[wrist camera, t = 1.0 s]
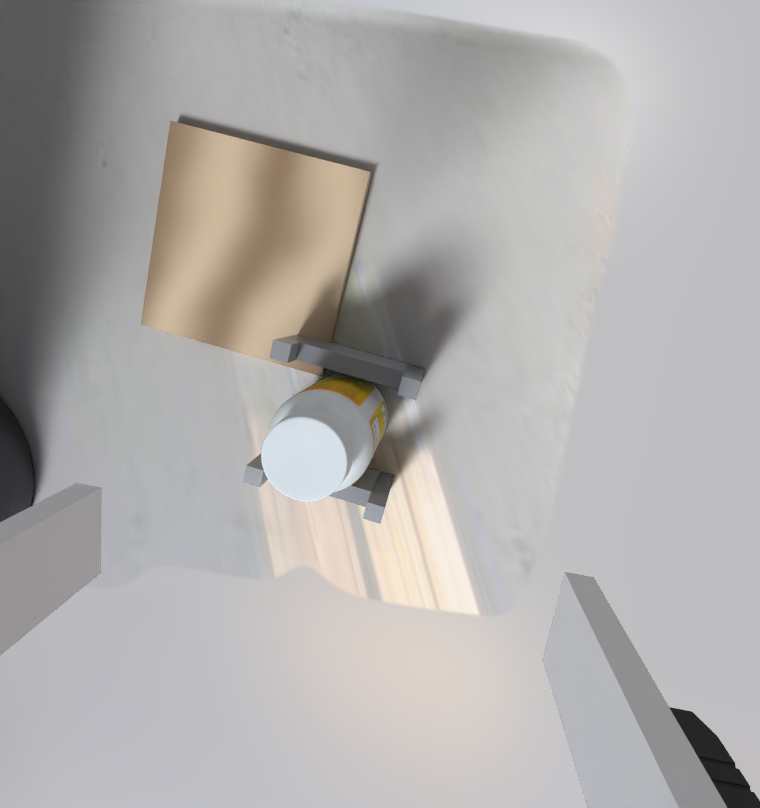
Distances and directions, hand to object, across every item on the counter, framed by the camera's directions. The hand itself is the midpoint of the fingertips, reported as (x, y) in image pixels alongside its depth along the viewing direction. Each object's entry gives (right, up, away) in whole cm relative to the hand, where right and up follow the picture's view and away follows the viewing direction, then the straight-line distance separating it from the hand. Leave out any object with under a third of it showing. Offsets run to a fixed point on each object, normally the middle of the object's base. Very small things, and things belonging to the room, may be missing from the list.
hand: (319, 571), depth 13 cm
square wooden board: (-6, +14, +16) cm, 22 cm away
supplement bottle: (0, +4, +17) cm, 18 cm away
